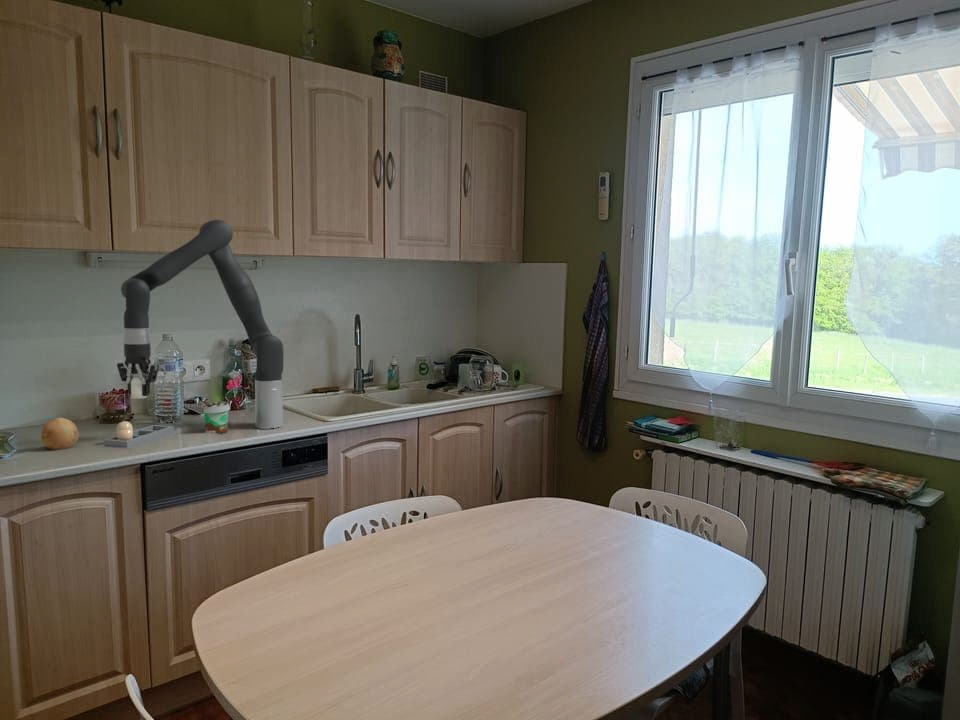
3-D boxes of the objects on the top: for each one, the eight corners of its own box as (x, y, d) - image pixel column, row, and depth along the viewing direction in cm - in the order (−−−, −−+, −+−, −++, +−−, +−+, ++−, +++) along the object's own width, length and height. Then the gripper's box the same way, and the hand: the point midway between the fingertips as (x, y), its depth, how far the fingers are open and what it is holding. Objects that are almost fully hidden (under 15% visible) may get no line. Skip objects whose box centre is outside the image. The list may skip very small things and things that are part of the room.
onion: (73, 453, 199) (71, 421, 198) (35, 455, 197) (33, 421, 196) (84, 445, 209) (83, 414, 207) (49, 446, 206) (47, 415, 205)
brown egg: (124, 441, 211) (123, 419, 210) (136, 442, 210) (135, 420, 209) (113, 444, 207) (112, 422, 206) (126, 445, 206) (125, 423, 205)
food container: (222, 437, 223) (221, 407, 222) (204, 436, 224) (203, 407, 222) (236, 428, 236) (235, 401, 234) (219, 428, 236) (218, 400, 235)
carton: (149, 432, 228) (149, 424, 228) (181, 434, 226) (180, 426, 226) (96, 449, 205) (96, 440, 205) (130, 451, 203) (130, 442, 202)
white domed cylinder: (137, 396, 216) (137, 374, 215) (149, 396, 215) (149, 375, 215) (128, 398, 212) (127, 376, 211) (140, 399, 211) (139, 377, 210)
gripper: (164, 342, 214) (166, 394, 216) (126, 340, 217) (127, 392, 219) (148, 344, 207) (150, 398, 209) (108, 342, 209) (110, 395, 211)
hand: (138, 395), depth 214 cm, fingers closed on white domed cylinder, 4 cm apart
